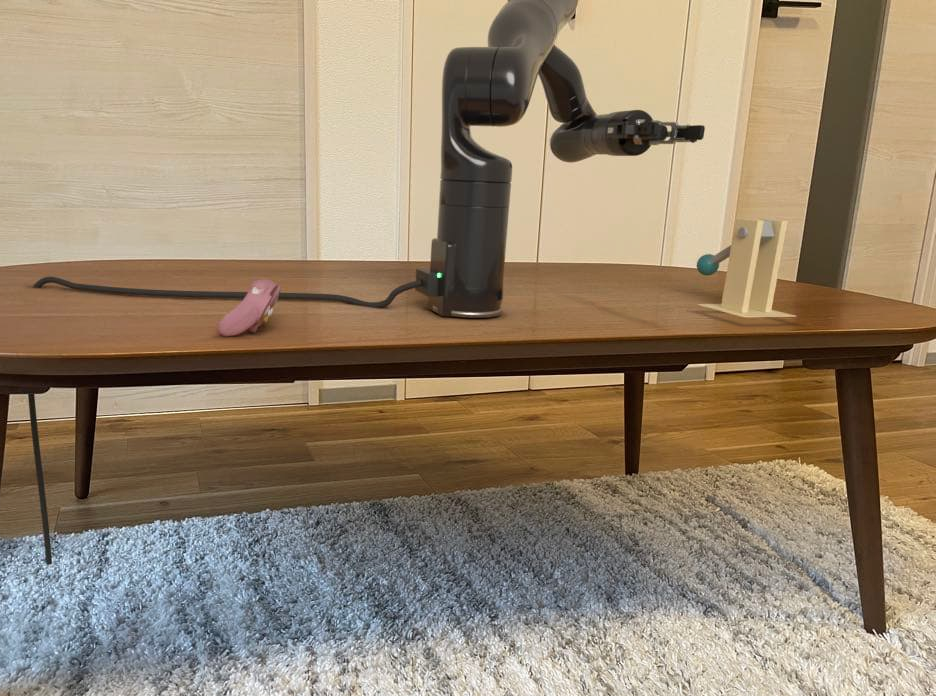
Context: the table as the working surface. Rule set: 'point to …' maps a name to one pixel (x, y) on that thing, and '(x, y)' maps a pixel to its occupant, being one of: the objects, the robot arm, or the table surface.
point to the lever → (728, 252)
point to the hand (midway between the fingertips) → (679, 131)
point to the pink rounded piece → (251, 309)
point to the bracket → (752, 270)
